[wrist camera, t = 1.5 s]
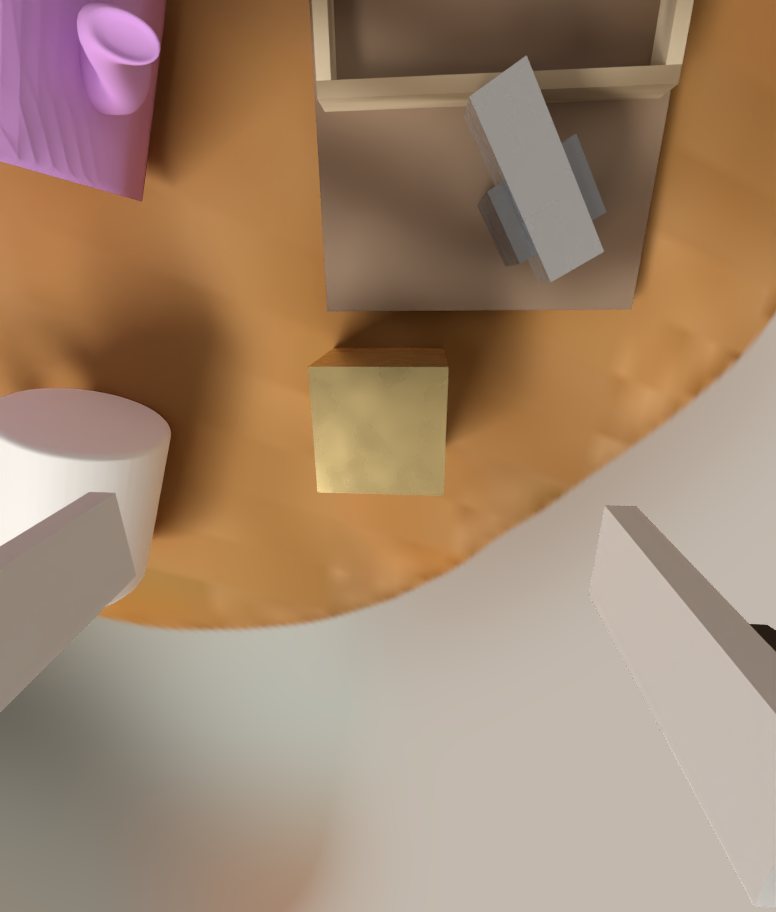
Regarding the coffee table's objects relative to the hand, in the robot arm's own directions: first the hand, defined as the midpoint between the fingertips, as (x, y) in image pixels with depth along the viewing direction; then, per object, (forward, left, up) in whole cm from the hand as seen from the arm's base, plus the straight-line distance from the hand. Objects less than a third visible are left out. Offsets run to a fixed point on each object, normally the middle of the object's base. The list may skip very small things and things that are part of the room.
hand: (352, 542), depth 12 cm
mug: (+4, -19, -15) cm, 24 cm away
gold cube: (0, 0, -15) cm, 15 cm away
